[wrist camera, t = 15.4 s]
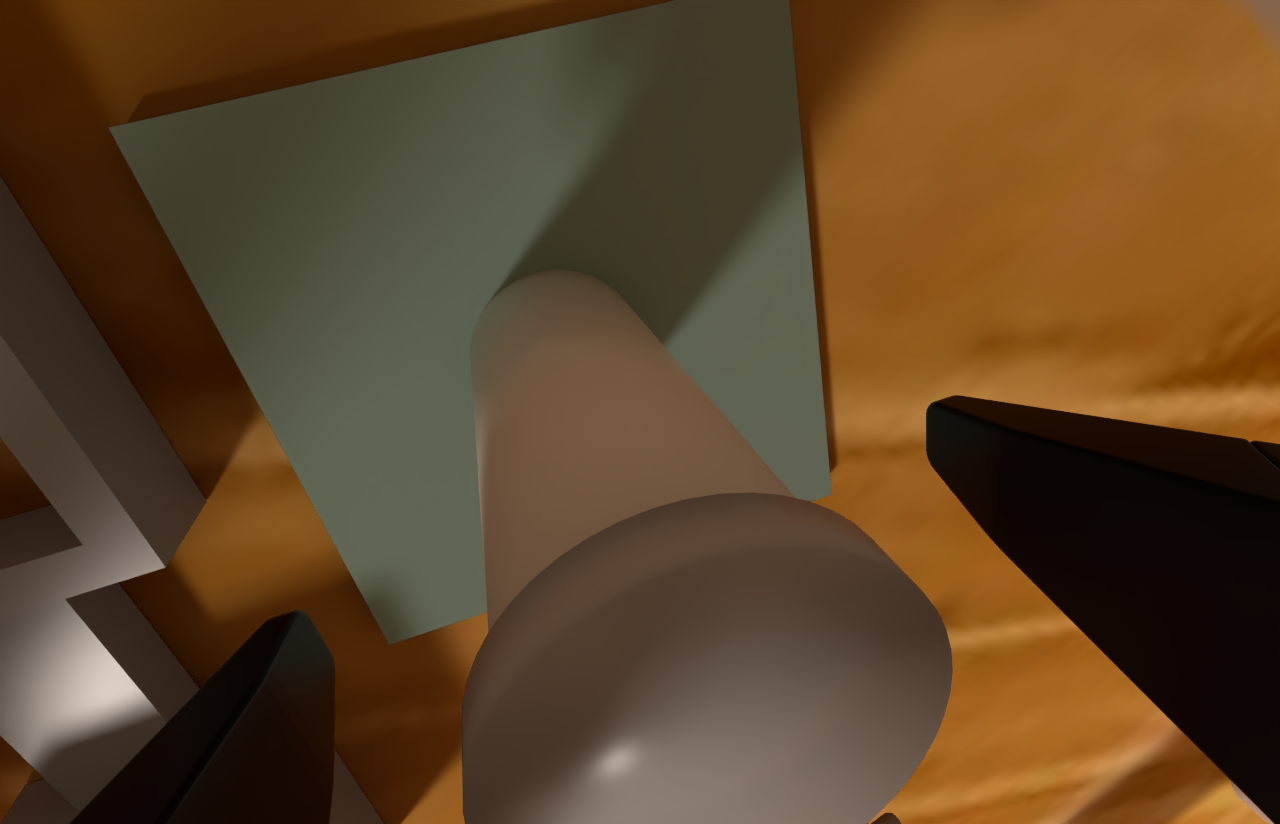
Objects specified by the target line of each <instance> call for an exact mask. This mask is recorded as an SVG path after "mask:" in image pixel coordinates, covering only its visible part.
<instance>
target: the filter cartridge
mask: <svg viewBox="0 0 1280 824" xmlns="http://www.w3.org/2000/svg"><path fill="white" fill-rule="evenodd" d="M470 362H471V377H472V392H473V406H474V421H475V436H476V451H477V465H478V480H479V495H480V510H481V524H482V539H483V554H484V568H485V583H486V598H487V613H488V627H489V633H488V634H487V636H486V638H485V640H484V642H483V644H482V645H481V647H480V649H479V651H478V653H477V655H476V657H475V660H474V663H473V665H472V668H471V671H470V674H469V676H468V679H467V682H466V688H465V693H464V698H463V704H462V775H463V814H464V819H465V824H867V823H868V822H870V821H871V820H872V819H873V818H874V817H875V816H876V815H877V814H878V813H879V812H880V811H881V810H882V809H883V808H884V807H885V806H886V805H887V804H888V803H889V802H890V801H891V800H892V799H893V798H894V797H895V795H896V794H897V793H898V792H899V791H900V789H901V788H902V787H903V786H904V785H905V783H906V782H907V781H908V780H909V779H910V777H911V776H912V774H913V773H914V771H915V770H916V768H917V767H918V766H919V764H920V763H921V761H922V760H923V758H924V757H925V755H926V753H927V751H928V749H929V747H930V746H931V744H932V742H933V740H934V738H935V736H936V734H937V732H938V729H939V727H940V724H941V722H942V719H943V717H944V714H945V710H946V707H947V703H948V699H949V695H950V689H951V680H952V655H951V647H950V643H949V639H948V635H947V631H946V628H945V626H944V624H943V622H942V620H941V618H940V616H939V614H938V611H937V610H936V608H935V607H934V606H933V604H932V603H931V602H930V600H929V599H928V598H927V597H926V595H925V594H924V593H923V592H922V590H921V589H920V588H919V587H918V586H917V585H916V584H915V583H914V582H913V581H912V580H911V579H910V578H909V577H908V576H907V575H906V574H905V573H904V572H903V571H902V570H901V569H900V568H899V566H898V565H897V564H896V563H895V562H894V561H893V560H892V559H891V558H890V557H889V556H888V555H887V554H886V553H885V552H884V551H883V550H882V549H881V548H880V547H879V546H878V545H877V544H876V543H875V541H874V540H873V539H872V538H871V537H869V536H868V535H867V534H866V533H865V532H864V531H863V530H861V529H860V528H859V527H858V526H857V525H856V524H855V523H853V522H851V521H850V520H848V519H846V518H845V517H843V516H841V515H840V514H838V513H836V512H835V511H833V510H830V509H828V508H825V507H823V506H820V505H818V504H815V503H812V502H810V501H806V500H802V499H797V498H795V497H794V496H793V495H792V493H791V492H790V491H789V490H788V489H787V488H786V486H785V485H784V484H783V483H782V482H781V481H780V480H779V478H778V477H777V476H776V475H775V474H774V473H773V471H772V470H771V469H770V468H769V467H768V466H767V465H766V463H765V462H764V461H763V460H762V459H761V458H760V456H759V455H758V454H757V453H756V452H755V451H754V449H753V448H752V447H751V446H750V445H749V444H748V443H747V441H746V440H745V439H744V438H743V437H742V436H741V434H740V433H739V432H738V431H737V430H736V429H735V427H734V426H733V425H732V424H731V423H730V422H729V421H728V419H727V418H726V417H725V416H724V415H723V414H722V412H721V411H720V410H719V409H718V408H717V407H716V406H715V404H714V403H713V402H712V401H711V400H710V399H709V397H708V396H707V395H706V394H705V393H704V392H703V390H702V389H701V388H700V387H699V386H698V385H697V384H696V382H695V381H694V380H693V379H692V378H691V377H690V375H689V374H688V373H687V372H686V371H685V370H684V369H683V367H682V366H681V365H680V364H679V363H678V362H677V360H676V359H675V358H674V357H673V356H672V355H671V353H670V352H669V351H668V350H667V349H666V348H665V347H664V345H663V344H662V343H661V342H660V341H659V340H658V338H657V337H656V336H655V335H654V334H653V333H652V331H651V330H650V329H649V328H648V327H647V326H646V325H645V323H644V322H643V321H642V320H641V319H640V318H639V316H638V315H637V314H636V313H635V312H634V311H633V310H632V308H631V307H630V306H629V305H628V304H627V303H626V301H625V300H624V299H623V298H622V297H621V296H620V295H619V294H618V293H617V292H616V291H615V290H614V289H613V288H612V287H610V286H609V285H607V284H606V283H604V282H603V281H601V280H599V279H597V278H595V277H593V276H590V275H587V274H584V273H581V272H576V271H571V270H546V271H541V272H537V273H533V274H530V275H527V276H524V277H522V278H520V279H518V280H516V281H514V282H512V283H511V284H509V285H508V286H506V287H505V288H503V289H502V290H501V291H500V292H499V293H498V294H496V295H495V296H494V297H493V298H492V300H491V301H490V302H489V303H488V304H487V305H486V307H485V309H484V310H483V312H482V313H481V315H480V317H479V319H478V321H477V323H476V325H475V328H474V332H473V335H472V340H471V347H470Z"/></svg>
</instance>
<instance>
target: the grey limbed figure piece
mask: <svg viewBox="0 0 1280 824" xmlns="http://www.w3.org/2000/svg"><path fill="white" fill-rule="evenodd" d="M867 824H868V823H867ZM871 824H901V823H900V821H899V819H898V818H897V817H896V816H895V815H894V814H893V813H885V814H883V815H882V816H880V817H879V818H878V819H877V820H875V821H874V822H872V823H871Z"/></svg>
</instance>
